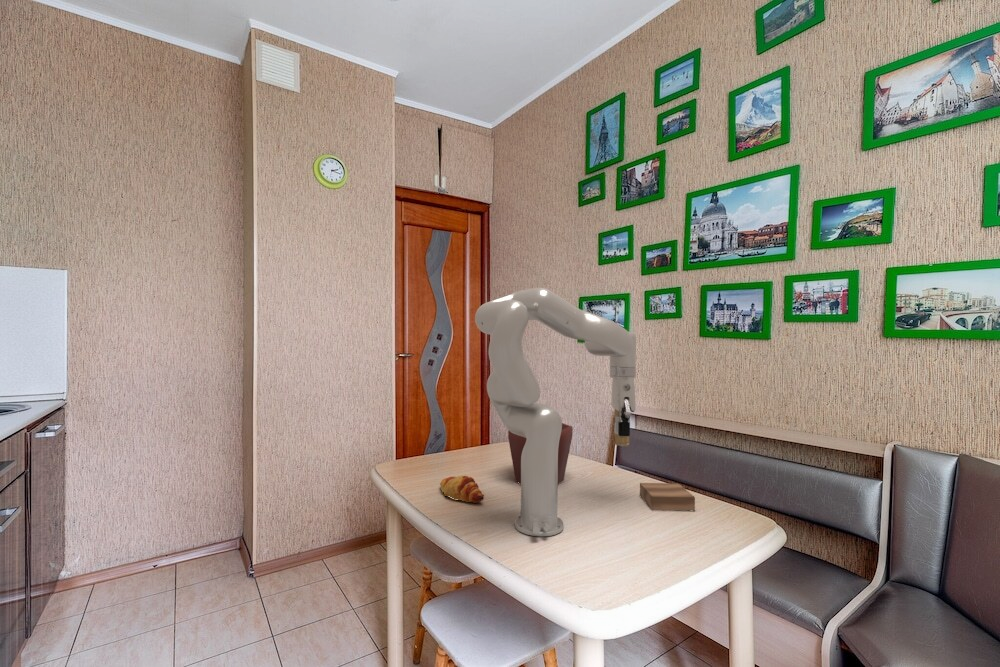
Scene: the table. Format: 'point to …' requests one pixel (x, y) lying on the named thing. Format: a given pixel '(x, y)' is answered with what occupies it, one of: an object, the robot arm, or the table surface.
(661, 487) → the walnut plinth
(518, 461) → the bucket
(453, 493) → the croissant
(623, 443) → the sprinkles bottle
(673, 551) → the table surface
